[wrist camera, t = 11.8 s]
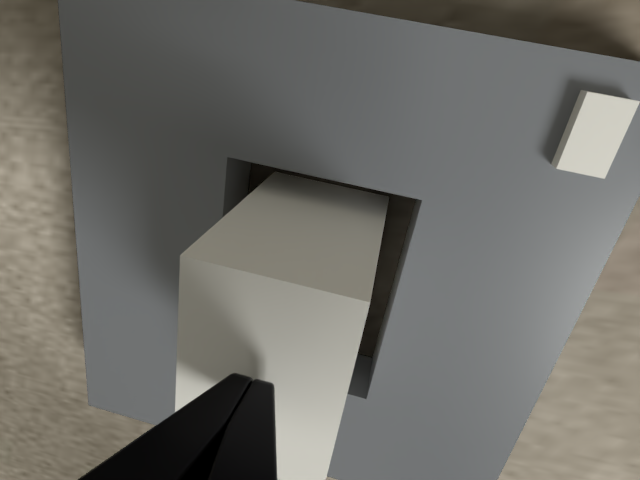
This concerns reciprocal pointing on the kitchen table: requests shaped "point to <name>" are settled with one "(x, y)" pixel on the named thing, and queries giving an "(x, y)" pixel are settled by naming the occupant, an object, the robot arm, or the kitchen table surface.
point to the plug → (283, 307)
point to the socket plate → (361, 170)
